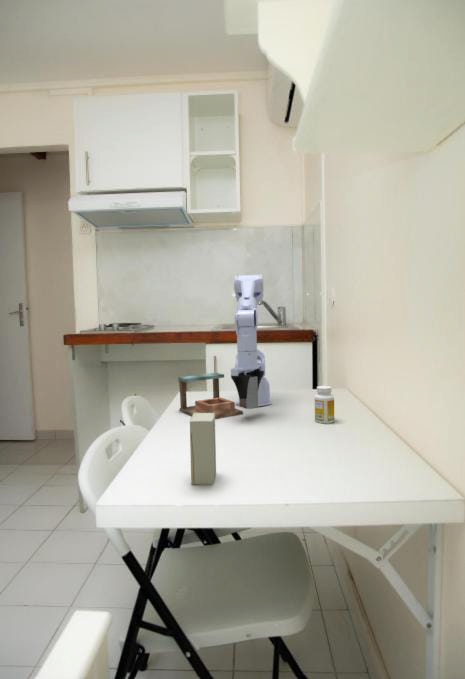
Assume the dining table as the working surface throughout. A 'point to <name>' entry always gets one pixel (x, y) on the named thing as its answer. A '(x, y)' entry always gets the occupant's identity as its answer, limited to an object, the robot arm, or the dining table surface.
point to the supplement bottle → (324, 405)
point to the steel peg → (250, 394)
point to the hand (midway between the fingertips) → (248, 396)
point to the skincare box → (203, 448)
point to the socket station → (209, 405)
